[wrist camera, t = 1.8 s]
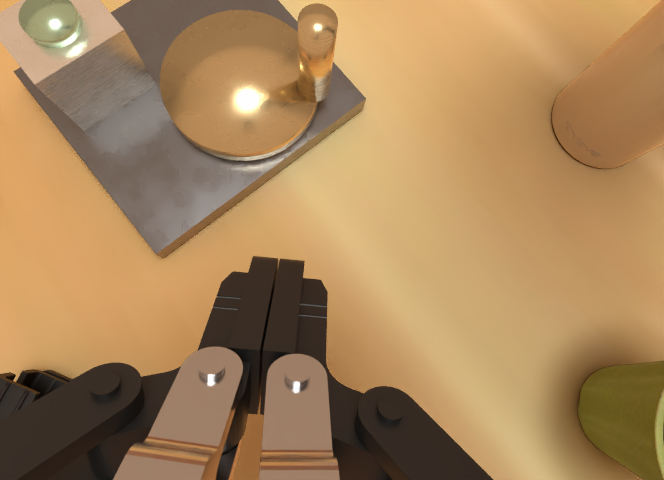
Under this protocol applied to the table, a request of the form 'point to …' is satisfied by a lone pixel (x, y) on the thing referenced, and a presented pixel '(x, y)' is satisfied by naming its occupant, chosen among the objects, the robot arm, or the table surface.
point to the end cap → (26, 389)
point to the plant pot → (627, 416)
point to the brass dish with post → (248, 80)
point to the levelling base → (145, 107)
